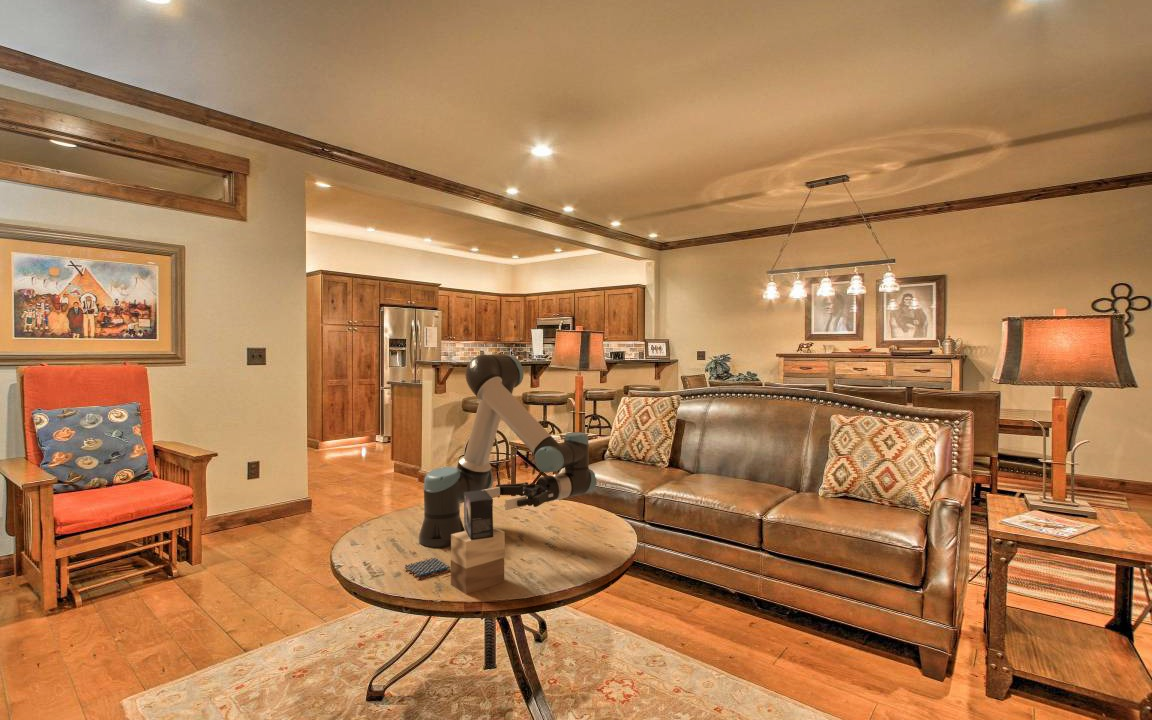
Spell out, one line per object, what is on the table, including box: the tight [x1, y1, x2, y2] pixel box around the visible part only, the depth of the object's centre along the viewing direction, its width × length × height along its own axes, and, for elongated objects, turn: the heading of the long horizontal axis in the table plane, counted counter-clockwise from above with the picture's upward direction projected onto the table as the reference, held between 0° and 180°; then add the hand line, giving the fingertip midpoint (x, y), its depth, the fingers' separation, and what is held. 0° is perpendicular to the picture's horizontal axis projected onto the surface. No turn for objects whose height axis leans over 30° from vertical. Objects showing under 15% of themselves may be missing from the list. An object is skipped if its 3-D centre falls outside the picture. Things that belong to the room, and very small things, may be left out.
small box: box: [463, 490, 494, 540], centre depth 152 cm, size 11×6×10 cm, turn 21°
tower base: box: [450, 558, 505, 595], centre depth 153 cm, size 8×12×7 cm, turn 131°
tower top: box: [450, 526, 506, 569], centre depth 152 cm, size 8×12×7 cm, turn 131°
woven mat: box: [404, 557, 451, 581], centre depth 162 cm, size 10×11×2 cm
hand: (492, 500), depth 156 cm, fingers open, 13 cm apart
